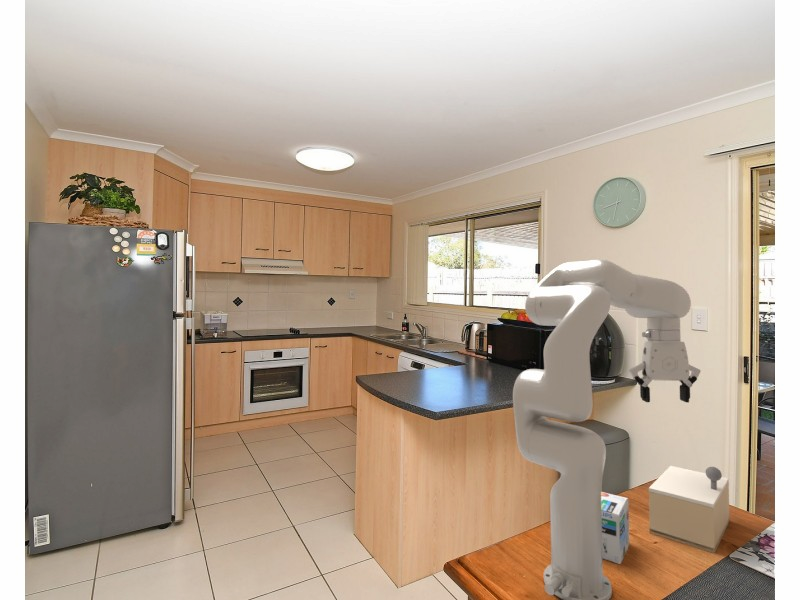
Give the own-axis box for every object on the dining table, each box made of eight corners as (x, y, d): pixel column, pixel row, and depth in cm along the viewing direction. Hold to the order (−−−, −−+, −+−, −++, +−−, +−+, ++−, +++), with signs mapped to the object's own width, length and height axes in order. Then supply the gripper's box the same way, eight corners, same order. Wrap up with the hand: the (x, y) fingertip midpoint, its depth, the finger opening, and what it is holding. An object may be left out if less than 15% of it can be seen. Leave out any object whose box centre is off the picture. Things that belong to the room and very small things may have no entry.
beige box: (714, 553, 98) (713, 508, 98) (649, 532, 107) (648, 491, 107) (729, 521, 112) (728, 481, 112) (671, 505, 121) (670, 468, 121)
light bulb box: (621, 565, 94) (620, 515, 94) (587, 555, 98) (587, 506, 98) (630, 543, 102) (629, 497, 102) (599, 534, 106) (598, 490, 106)
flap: (713, 508, 98) (713, 481, 98) (648, 491, 107) (648, 466, 107) (729, 481, 112) (728, 458, 112) (670, 468, 121) (670, 446, 121)
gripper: (635, 337, 112) (637, 404, 112) (707, 337, 111) (708, 404, 110) (623, 335, 120) (624, 398, 120) (690, 335, 118) (691, 398, 118)
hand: (665, 401), depth 115 cm, fingers open, 9 cm apart
